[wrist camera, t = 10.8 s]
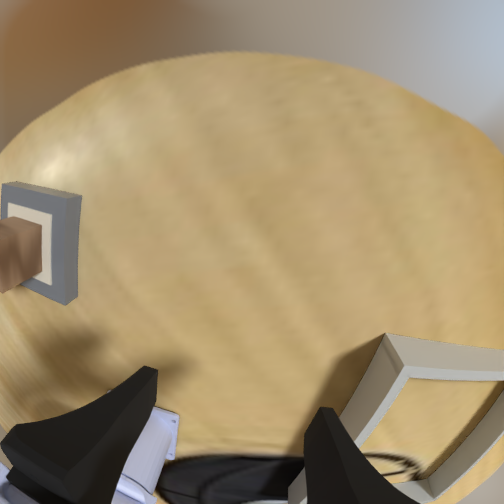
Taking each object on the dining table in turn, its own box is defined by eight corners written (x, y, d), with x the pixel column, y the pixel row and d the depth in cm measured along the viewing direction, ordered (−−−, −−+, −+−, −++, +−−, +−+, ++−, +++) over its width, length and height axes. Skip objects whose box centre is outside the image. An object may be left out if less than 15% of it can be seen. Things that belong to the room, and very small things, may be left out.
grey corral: (427, 481, 28) (434, 500, 24) (288, 487, 29) (288, 514, 24) (529, 352, 21) (548, 370, 17) (385, 332, 21) (404, 365, 17)
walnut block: (42, 271, 20) (2, 293, 15) (14, 259, 20) (-24, 277, 15) (41, 225, 19) (-2, 240, 14) (13, 216, 19) (-28, 228, 14)
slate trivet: (77, 296, 22) (64, 306, 20) (15, 269, 23) (2, 276, 20) (81, 195, 20) (65, 198, 18) (16, 181, 20) (0, 183, 18)
